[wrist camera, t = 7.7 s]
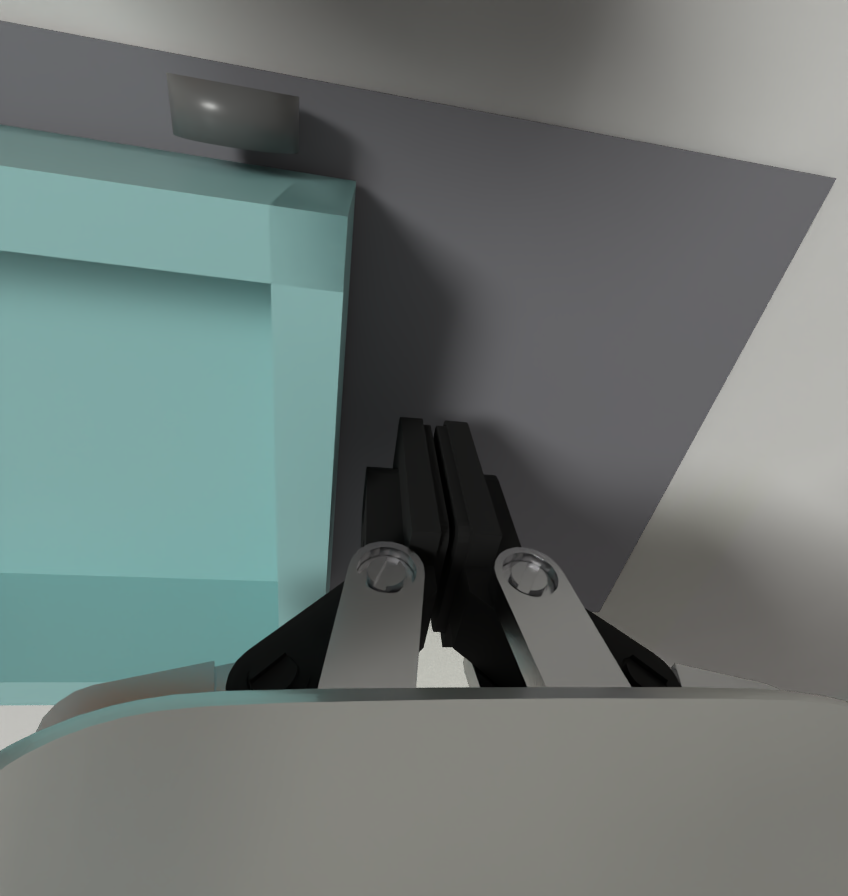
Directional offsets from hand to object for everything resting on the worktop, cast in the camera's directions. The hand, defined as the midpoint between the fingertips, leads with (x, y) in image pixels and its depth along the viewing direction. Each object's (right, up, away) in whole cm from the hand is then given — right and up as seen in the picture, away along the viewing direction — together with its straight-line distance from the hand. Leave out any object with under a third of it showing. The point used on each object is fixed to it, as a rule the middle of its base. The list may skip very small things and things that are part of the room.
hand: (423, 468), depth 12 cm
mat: (-3, +1, +1) cm, 3 cm away
